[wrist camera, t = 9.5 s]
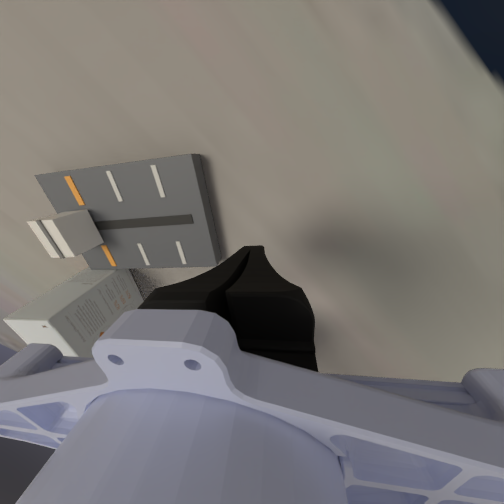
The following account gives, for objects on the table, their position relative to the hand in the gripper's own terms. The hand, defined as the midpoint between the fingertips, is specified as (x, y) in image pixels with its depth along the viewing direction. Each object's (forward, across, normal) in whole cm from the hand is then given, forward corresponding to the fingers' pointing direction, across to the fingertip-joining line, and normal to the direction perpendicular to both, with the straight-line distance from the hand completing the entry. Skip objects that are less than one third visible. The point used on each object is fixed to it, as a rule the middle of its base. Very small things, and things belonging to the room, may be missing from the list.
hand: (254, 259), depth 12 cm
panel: (+9, +15, -1) cm, 18 cm away
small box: (+10, +23, +9) cm, 27 cm away
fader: (+7, +21, -1) cm, 22 cm away
